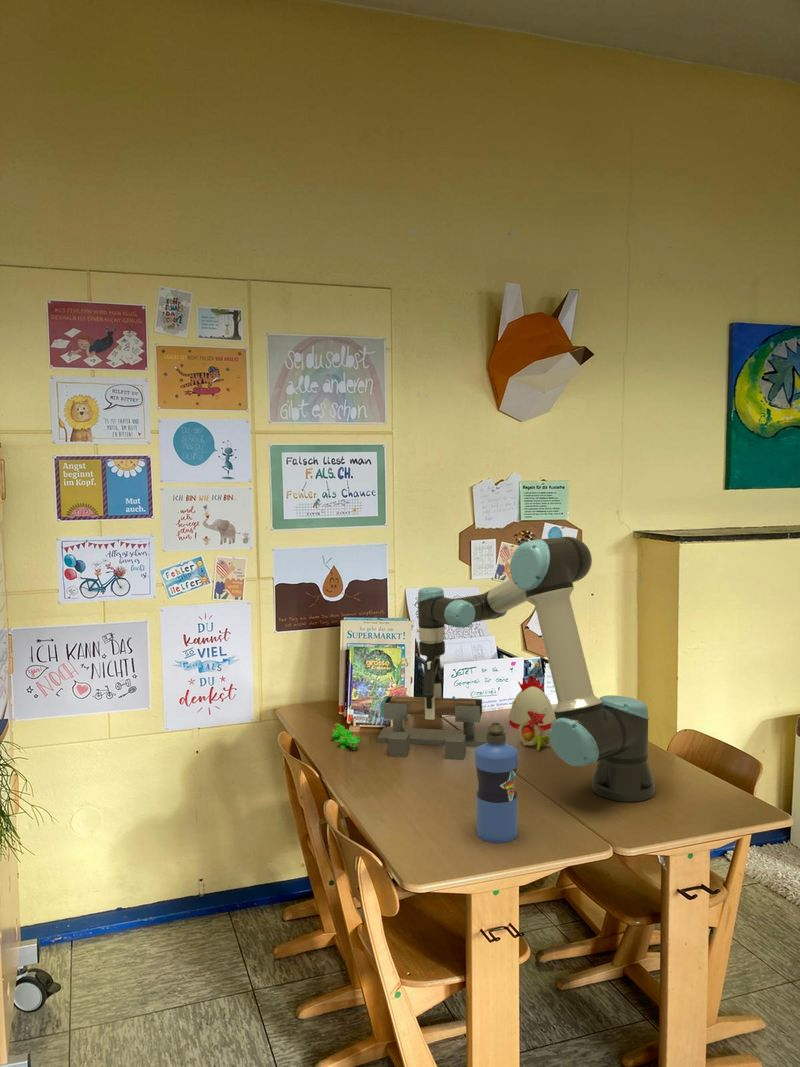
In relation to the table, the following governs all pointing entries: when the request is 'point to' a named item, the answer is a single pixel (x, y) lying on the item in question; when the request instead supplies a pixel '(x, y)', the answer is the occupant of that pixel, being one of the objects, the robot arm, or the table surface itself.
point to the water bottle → (496, 787)
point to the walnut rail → (441, 704)
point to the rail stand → (432, 736)
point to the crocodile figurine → (345, 737)
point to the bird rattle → (529, 732)
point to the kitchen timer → (531, 704)
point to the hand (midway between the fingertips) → (433, 711)
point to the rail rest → (401, 745)
